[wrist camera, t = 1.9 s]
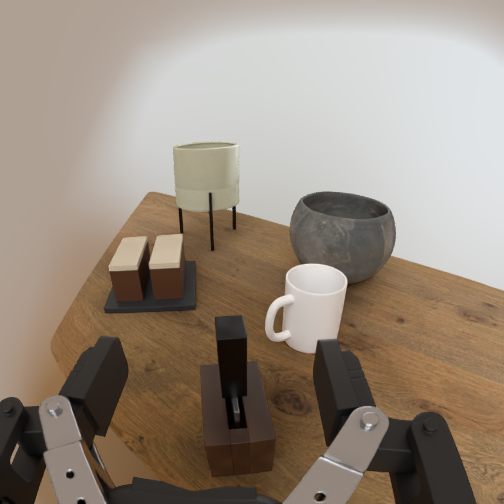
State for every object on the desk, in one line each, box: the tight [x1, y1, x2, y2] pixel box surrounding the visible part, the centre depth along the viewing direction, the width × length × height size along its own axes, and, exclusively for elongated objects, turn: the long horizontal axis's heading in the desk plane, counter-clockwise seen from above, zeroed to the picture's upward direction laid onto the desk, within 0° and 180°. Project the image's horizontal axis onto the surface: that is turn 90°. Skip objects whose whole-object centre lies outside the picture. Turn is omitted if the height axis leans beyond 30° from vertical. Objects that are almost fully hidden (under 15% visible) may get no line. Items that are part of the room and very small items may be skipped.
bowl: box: [290, 192, 396, 284], centre depth 60 cm, size 20×20×15 cm
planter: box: [173, 142, 239, 251], centre depth 75 cm, size 15×16×23 cm
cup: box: [265, 264, 347, 354], centre depth 43 cm, size 8×12×10 cm
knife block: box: [200, 361, 276, 477], centre depth 29 cm, size 6×10×7 cm, turn 8°
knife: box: [215, 315, 247, 429], centre depth 27 cm, size 2×6×16 cm, turn 9°
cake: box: [104, 234, 196, 313], centre depth 57 cm, size 16×16×8 cm
